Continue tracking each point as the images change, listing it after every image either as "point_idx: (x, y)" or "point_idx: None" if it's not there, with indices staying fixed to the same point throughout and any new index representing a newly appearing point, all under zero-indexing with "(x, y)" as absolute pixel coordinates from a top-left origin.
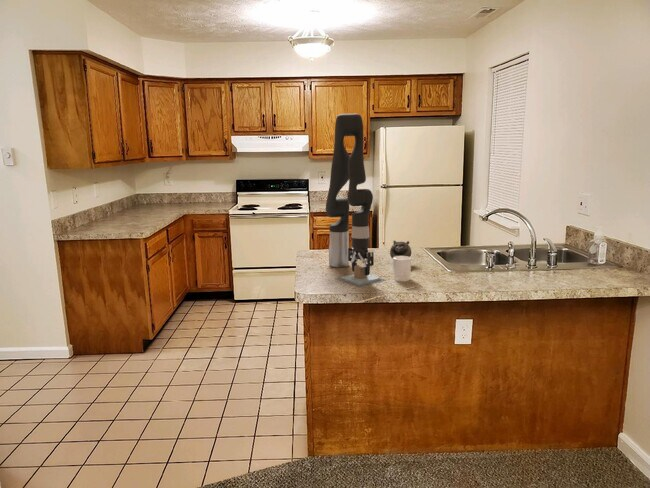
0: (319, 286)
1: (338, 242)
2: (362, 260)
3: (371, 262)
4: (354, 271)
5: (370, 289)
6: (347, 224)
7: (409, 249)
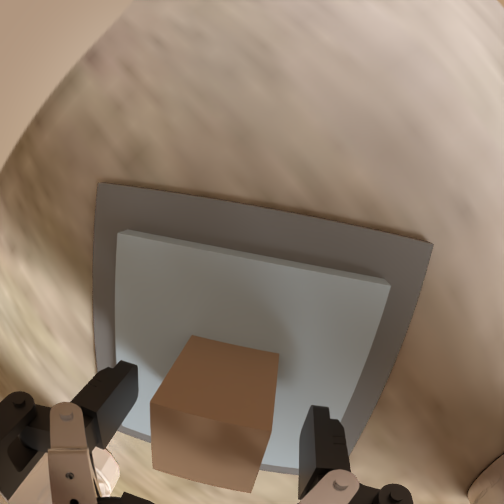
0: (400, 23)
1: None
2: (64, 461)
3: (26, 451)
4: (269, 388)
5: (47, 225)
6: None
7: None
